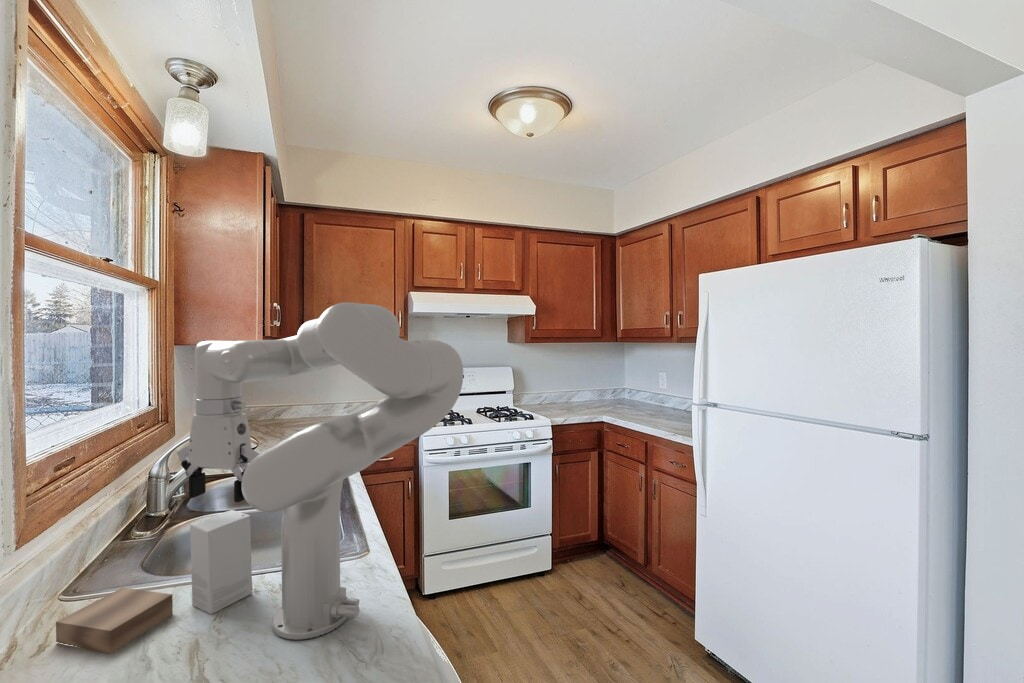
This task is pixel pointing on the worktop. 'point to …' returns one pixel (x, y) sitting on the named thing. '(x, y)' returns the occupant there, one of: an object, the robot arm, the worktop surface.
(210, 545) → the skincare box
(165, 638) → the worktop surface
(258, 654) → the worktop surface
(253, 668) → the worktop surface
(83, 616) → the walnut block
